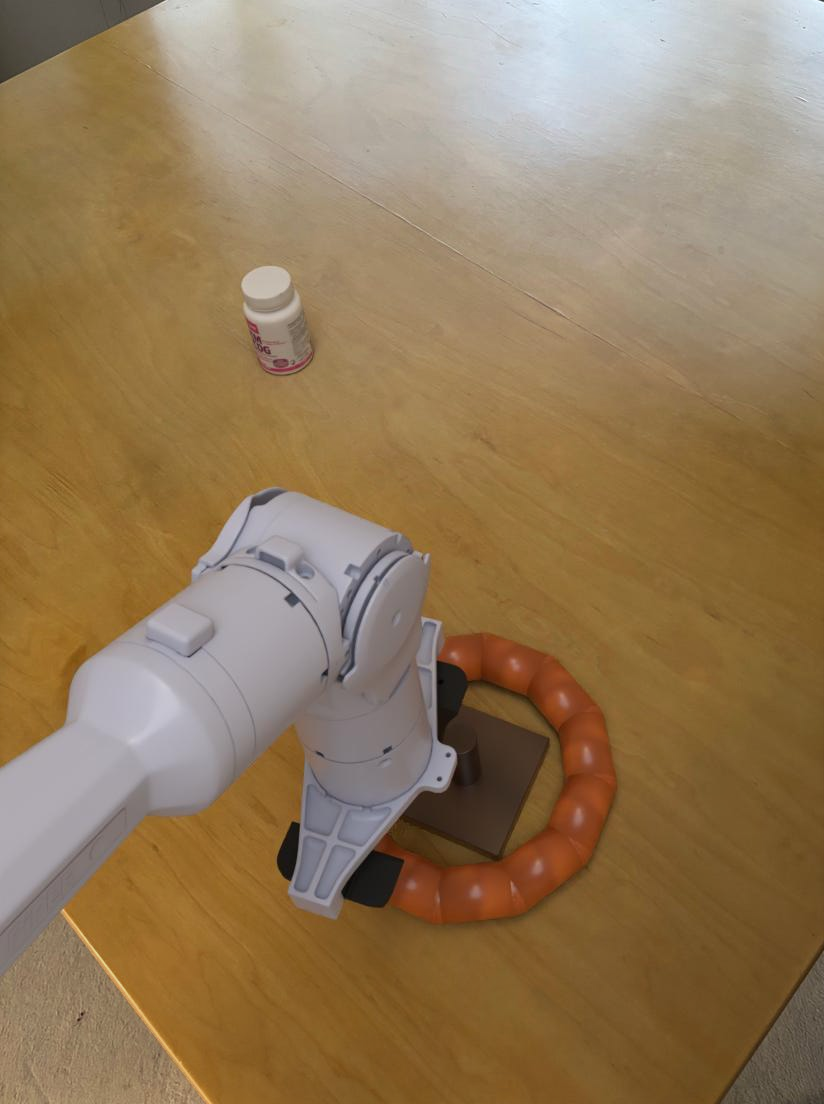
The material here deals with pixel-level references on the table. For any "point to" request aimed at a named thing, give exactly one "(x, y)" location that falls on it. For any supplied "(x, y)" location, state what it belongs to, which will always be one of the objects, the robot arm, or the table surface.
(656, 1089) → the table surface
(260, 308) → the pill bottle
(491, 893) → the ring
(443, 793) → the square peg base
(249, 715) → the robot arm
